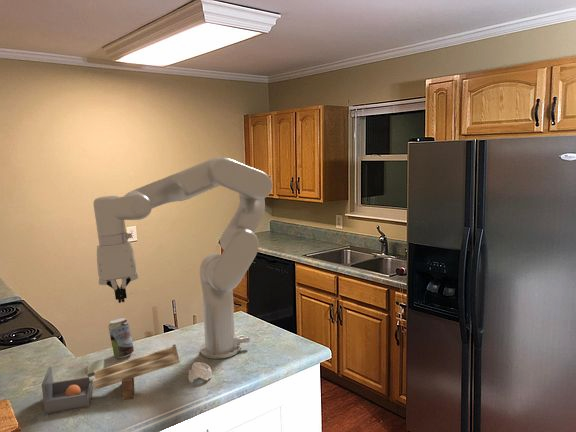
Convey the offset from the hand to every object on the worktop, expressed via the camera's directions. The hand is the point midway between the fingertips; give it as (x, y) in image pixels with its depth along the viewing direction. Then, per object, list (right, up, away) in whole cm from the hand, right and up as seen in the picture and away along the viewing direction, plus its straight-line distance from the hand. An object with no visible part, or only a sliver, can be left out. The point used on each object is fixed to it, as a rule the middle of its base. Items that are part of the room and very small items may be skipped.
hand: (121, 301), depth 134 cm
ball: (-8, -21, -13) cm, 26 cm away
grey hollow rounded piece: (+23, -22, -2) cm, 32 cm away
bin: (-9, -24, -13) cm, 29 cm away
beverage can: (-4, -20, +13) cm, 24 cm away
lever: (+5, -18, -4) cm, 19 cm away
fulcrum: (+5, -23, -9) cm, 25 cm away
